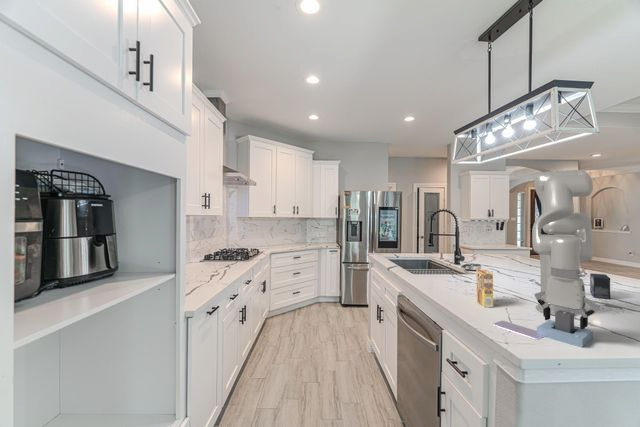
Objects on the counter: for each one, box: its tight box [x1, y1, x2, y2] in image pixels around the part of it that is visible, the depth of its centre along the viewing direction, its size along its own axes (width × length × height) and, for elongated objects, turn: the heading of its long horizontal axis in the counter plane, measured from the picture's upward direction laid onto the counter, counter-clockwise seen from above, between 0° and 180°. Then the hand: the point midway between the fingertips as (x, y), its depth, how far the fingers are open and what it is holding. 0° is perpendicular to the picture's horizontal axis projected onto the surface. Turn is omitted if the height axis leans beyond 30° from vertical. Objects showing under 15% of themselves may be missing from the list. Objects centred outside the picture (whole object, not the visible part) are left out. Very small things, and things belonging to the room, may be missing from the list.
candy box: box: [476, 268, 494, 308], centre depth 133 cm, size 9×4×15 cm, turn 171°
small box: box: [589, 272, 611, 300], centre depth 146 cm, size 11×6×10 cm, turn 144°
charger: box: [554, 310, 575, 334], centre depth 99 cm, size 4×4×8 cm
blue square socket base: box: [536, 319, 594, 348], centre depth 99 cm, size 12×12×3 cm
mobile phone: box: [492, 320, 546, 341], centre depth 105 cm, size 8×1×15 cm
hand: (564, 323), depth 99 cm, fingers open, 9 cm apart
